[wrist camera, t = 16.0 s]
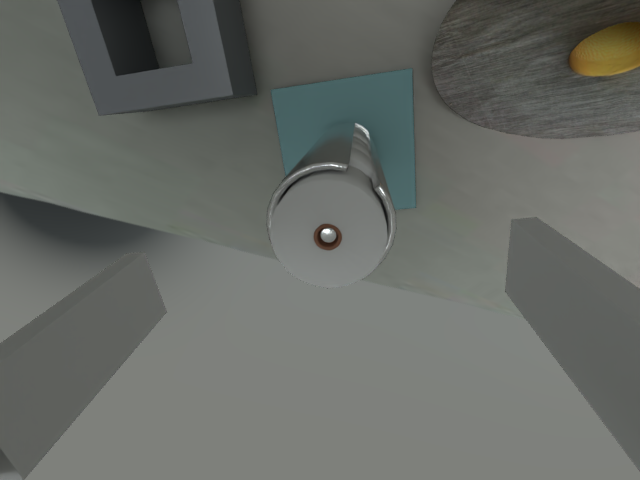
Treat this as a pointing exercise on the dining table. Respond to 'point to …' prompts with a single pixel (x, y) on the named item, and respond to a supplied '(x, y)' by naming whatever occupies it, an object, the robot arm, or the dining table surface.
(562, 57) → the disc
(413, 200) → the teal mat
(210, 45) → the grey hollow square block
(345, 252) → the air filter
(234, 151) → the dining table surface
